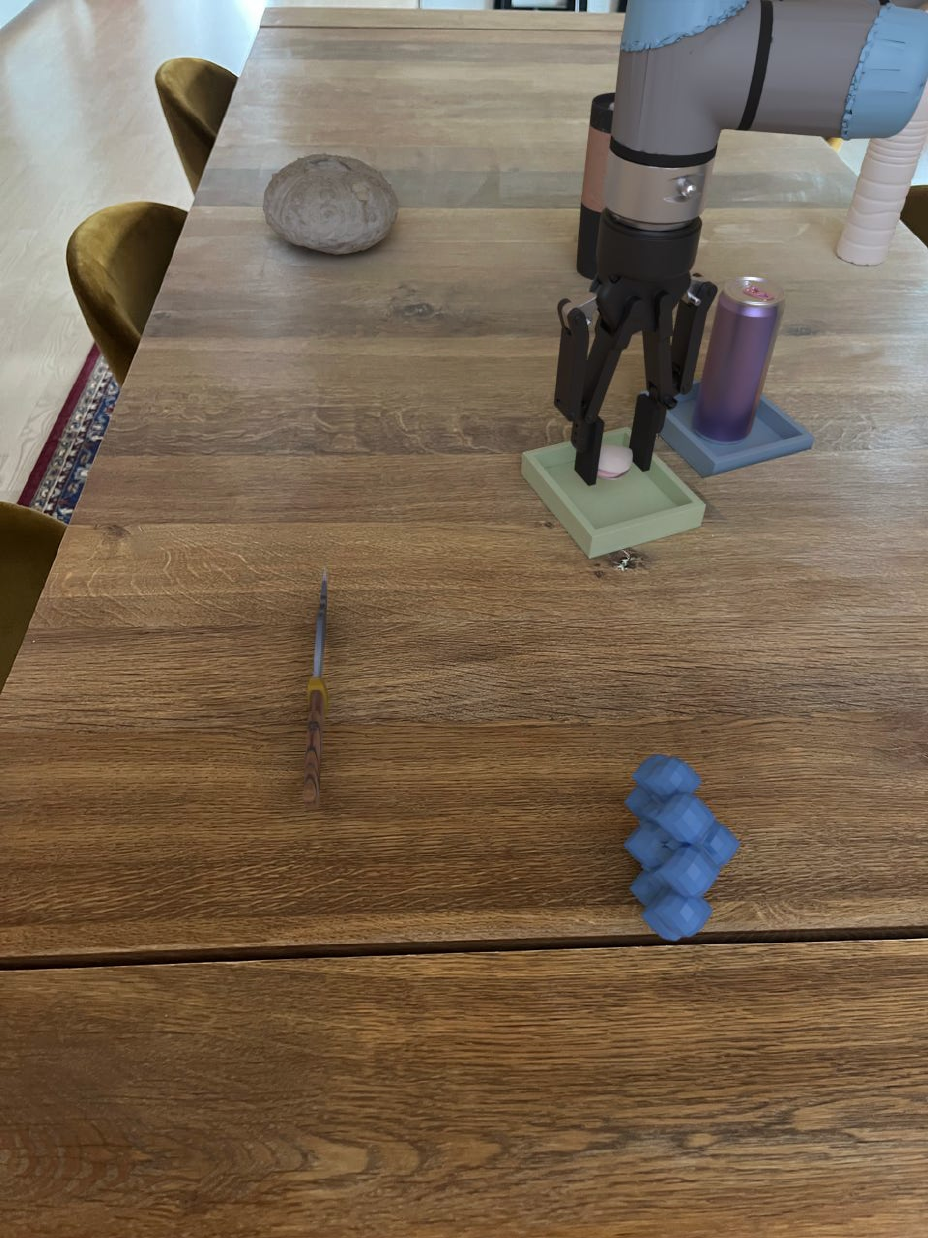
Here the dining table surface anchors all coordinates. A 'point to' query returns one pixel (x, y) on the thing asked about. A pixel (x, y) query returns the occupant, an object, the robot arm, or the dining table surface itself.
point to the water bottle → (882, 191)
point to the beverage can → (738, 358)
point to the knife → (316, 709)
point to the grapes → (674, 847)
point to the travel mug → (594, 182)
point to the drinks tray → (764, 443)
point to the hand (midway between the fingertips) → (611, 469)
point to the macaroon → (614, 462)
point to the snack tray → (611, 499)
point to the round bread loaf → (330, 204)
